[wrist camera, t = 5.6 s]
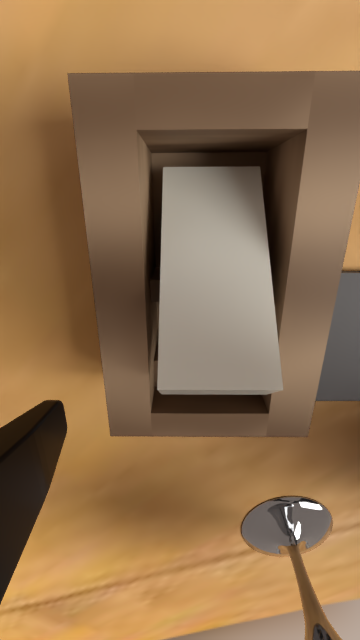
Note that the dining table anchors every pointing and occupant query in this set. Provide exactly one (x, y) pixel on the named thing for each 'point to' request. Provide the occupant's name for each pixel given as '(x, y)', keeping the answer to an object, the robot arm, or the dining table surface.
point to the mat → (343, 345)
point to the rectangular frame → (280, 213)
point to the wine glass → (293, 547)
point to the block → (216, 285)
